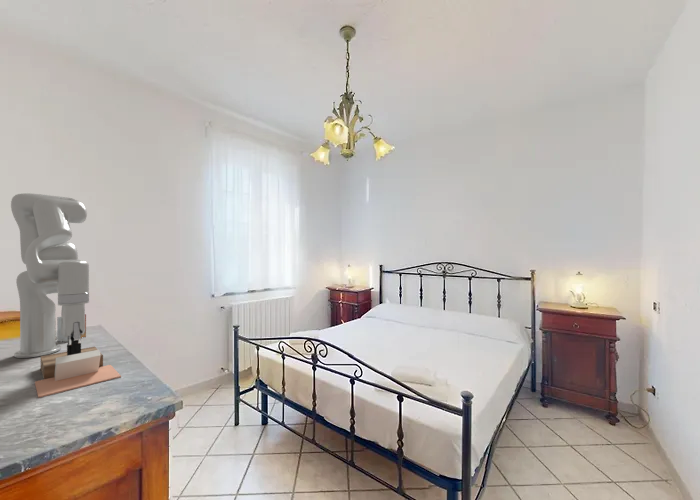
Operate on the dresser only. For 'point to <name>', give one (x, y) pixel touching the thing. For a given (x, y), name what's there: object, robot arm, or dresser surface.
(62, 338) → the small box
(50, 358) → the block
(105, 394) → the dresser surface
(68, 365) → the tile
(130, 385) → the dresser surface
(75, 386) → the mat
